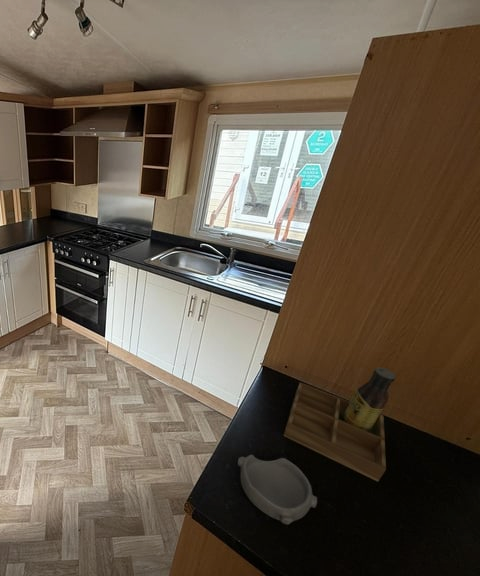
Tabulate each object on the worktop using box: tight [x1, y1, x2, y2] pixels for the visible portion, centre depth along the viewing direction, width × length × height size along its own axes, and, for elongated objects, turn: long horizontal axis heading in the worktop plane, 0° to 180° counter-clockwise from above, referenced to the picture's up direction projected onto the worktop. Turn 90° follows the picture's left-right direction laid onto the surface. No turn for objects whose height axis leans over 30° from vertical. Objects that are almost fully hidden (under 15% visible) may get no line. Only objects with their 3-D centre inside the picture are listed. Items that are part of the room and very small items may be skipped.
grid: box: [283, 381, 387, 482], centre depth 85 cm, size 20×20×5 cm
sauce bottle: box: [343, 367, 396, 432], centre depth 82 cm, size 6×6×20 cm
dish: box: [237, 454, 318, 526], centre depth 70 cm, size 14×14×5 cm
